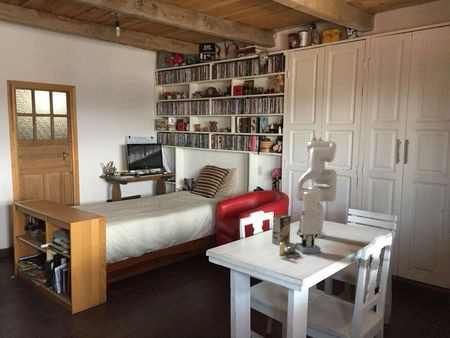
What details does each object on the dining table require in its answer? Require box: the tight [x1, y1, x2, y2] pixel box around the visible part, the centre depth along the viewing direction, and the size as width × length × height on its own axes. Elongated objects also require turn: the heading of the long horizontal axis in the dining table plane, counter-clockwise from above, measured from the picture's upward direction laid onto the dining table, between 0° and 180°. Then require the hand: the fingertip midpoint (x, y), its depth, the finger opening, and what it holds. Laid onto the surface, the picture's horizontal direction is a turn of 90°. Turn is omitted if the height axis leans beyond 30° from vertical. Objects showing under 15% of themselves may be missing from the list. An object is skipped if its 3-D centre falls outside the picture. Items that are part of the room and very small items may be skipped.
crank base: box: [284, 251, 301, 261], centre depth 205 cm, size 12×9×1 cm
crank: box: [279, 242, 297, 257], centre depth 203 cm, size 11×4×7 cm, turn 131°
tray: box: [295, 242, 321, 255], centre depth 214 cm, size 10×10×3 cm
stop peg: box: [304, 235, 312, 248], centre depth 214 cm, size 4×4×7 cm
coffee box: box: [271, 214, 291, 246], centre depth 227 cm, size 9×6×16 cm
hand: (307, 245), depth 214 cm, fingers closed on stop peg, 3 cm apart
